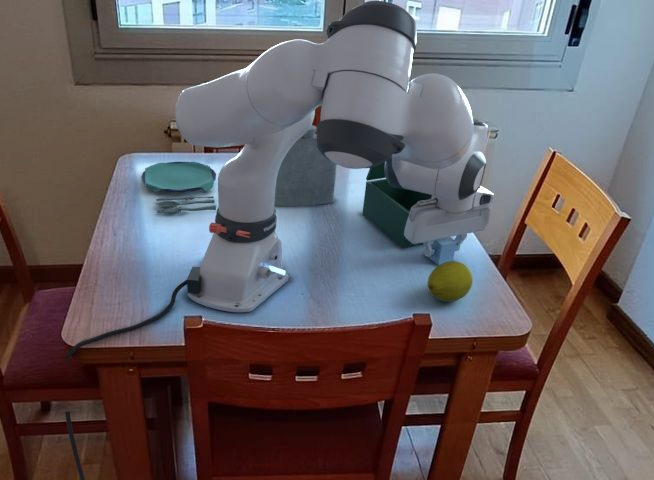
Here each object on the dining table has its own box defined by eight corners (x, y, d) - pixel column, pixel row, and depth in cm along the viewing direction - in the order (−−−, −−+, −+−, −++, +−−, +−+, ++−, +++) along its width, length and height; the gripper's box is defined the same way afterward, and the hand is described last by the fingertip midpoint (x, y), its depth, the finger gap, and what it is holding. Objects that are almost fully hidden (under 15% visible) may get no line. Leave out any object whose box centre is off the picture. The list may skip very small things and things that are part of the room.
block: (452, 261, 138) (457, 242, 135) (438, 265, 137) (442, 245, 134) (442, 253, 141) (446, 234, 138) (427, 256, 139) (431, 236, 137)
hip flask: (331, 197, 163) (338, 122, 151) (336, 204, 160) (343, 127, 148) (272, 201, 159) (274, 124, 148) (275, 208, 156) (278, 130, 145)
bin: (447, 239, 147) (454, 205, 142) (402, 248, 142) (408, 213, 137) (404, 206, 160) (409, 174, 155) (362, 214, 156) (366, 181, 151)
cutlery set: (213, 166, 176) (212, 158, 175) (224, 213, 153) (224, 204, 151) (141, 169, 173) (140, 161, 171) (141, 217, 149) (140, 208, 148)
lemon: (453, 283, 131) (461, 250, 126) (478, 302, 125) (487, 268, 120) (412, 294, 126) (418, 260, 122) (435, 314, 121) (443, 280, 116)
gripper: (420, 208, 124) (410, 268, 132) (501, 194, 131) (486, 251, 139) (403, 196, 128) (394, 254, 136) (482, 183, 136) (468, 238, 144)
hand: (441, 252), depth 138 cm, fingers open, 5 cm apart
